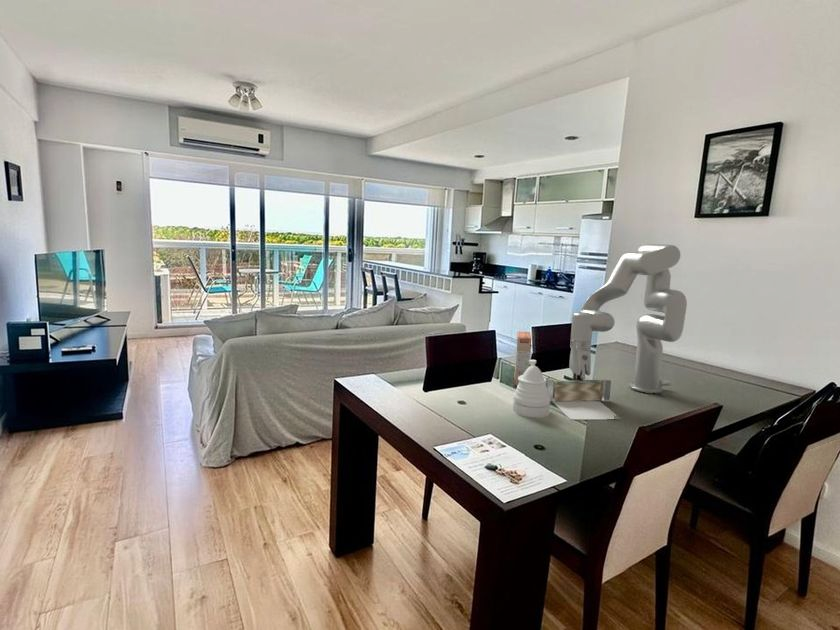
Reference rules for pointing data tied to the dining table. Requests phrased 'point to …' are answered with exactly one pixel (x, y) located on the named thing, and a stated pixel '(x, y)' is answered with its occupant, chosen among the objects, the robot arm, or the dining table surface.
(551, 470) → the dining table surface
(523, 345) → the cracker box
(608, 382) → the gate frame
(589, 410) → the mat
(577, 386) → the gate
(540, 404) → the honey pot
